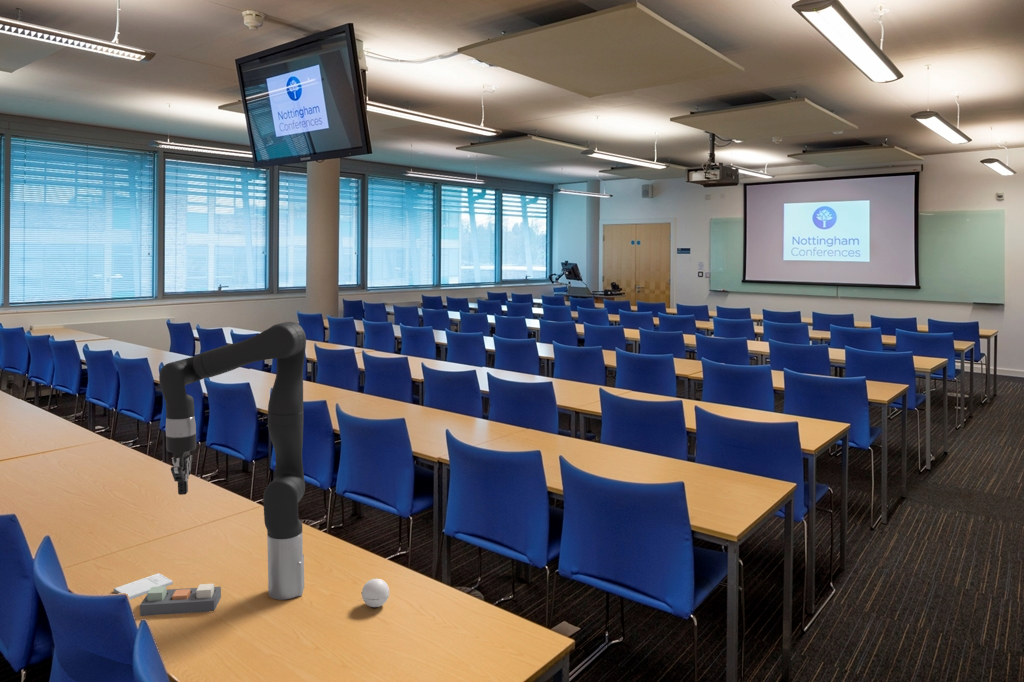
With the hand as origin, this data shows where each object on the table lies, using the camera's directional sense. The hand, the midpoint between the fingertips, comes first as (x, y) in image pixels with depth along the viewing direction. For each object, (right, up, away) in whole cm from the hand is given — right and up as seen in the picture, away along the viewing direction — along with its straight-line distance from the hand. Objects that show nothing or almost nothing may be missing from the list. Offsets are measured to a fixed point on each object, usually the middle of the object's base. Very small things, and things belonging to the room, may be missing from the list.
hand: (183, 493), depth 195 cm
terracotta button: (+4, -28, -8) cm, 29 cm away
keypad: (+4, -28, -8) cm, 30 cm away
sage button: (-2, -27, -10) cm, 28 cm away
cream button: (+10, -27, -8) cm, 29 cm away
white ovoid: (+54, -29, -7) cm, 61 cm away
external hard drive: (-12, -27, +2) cm, 30 cm away
